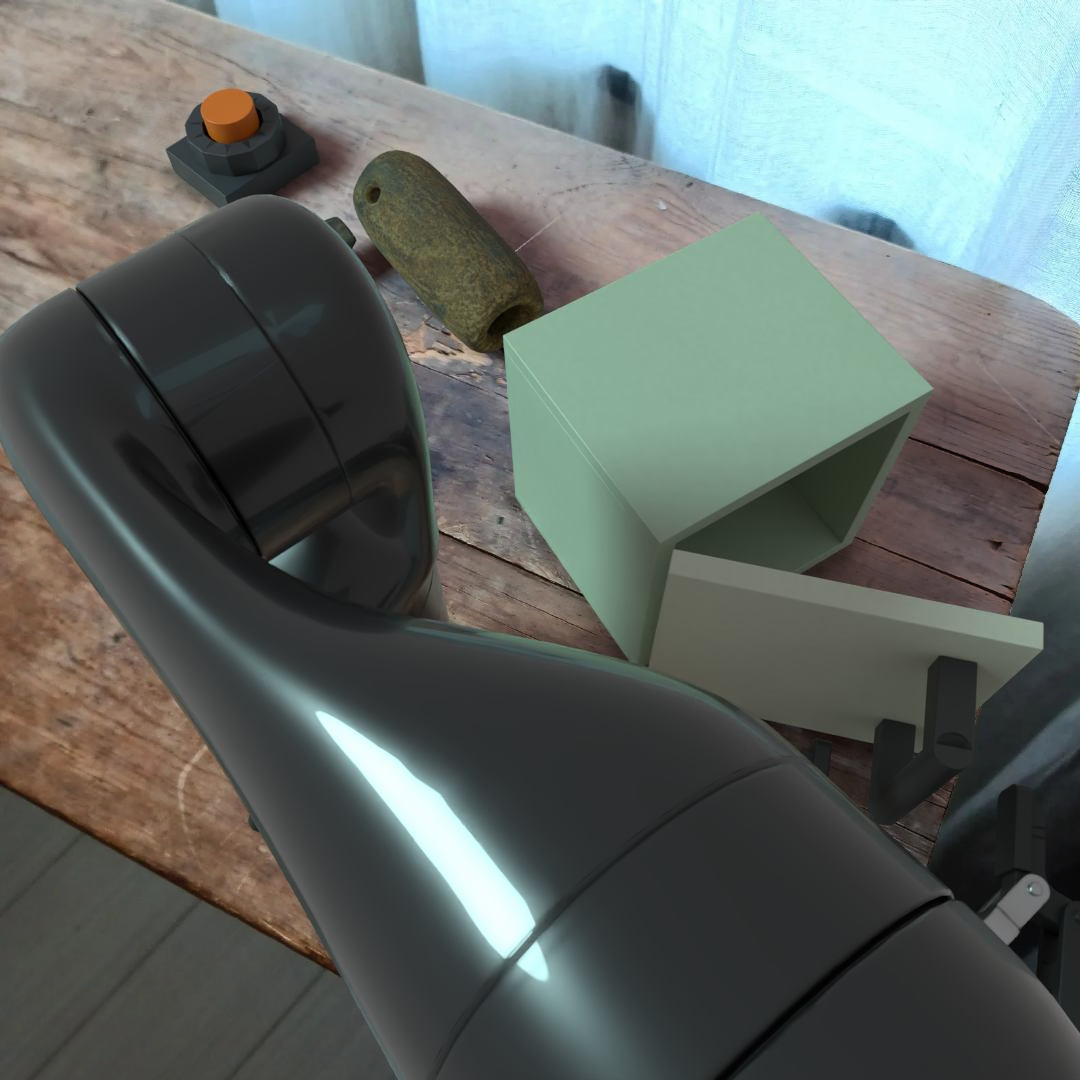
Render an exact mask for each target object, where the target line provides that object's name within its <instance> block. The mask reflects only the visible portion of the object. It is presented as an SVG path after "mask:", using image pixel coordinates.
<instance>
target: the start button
mask: <svg viewBox="0 0 1080 1080" xmlns="http://www.w3.org/2000/svg"><path fill="white" fill-rule="evenodd" d="M245 91H246V90H243V89H239V88H223V89H219V90H216V91H214V92H212V93H210V94H209V95H208V96H207V97H205V98H204V100H203V101H202V102H203V103H202V102H201V103H202V105H201V114H202V117H203V120H204V122H205V125H206V128H207V130H208V133H209V135H210V137H211V138H212V139H213V140H215V141H216V142H219V143H225V144H231V143H236V142H241V141H245V140H247V139H248V138H250V137H251V136H253V135H254V134H256V132H257V131H258V129H259V124H260V123H259V118H258V115H257V112H256V109H255V106H254V102H253V99H252V98H251V96H250V95H249V94H248V93H246V92H245Z"/></svg>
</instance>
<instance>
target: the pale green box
mask: <svg viewBox="0 0 1080 1080" xmlns="http://www.w3.org/2000/svg"><path fill="white" fill-rule="evenodd" d="M503 342H504V347H503V354H504V364H505V366H504V367H505V377H506V390H507V391H506V392H507V404H508V405H507V406H508V418H509V428H510V431H509V432H510V440H511V441H510V443H511V444H510V445H511V456H512V469H513V481H514V484H513V485H514V495H515V498H516V500H517V502H518V503H519V505H520V506H521V508H522V509H523V510H524V512H525V513H526V514H527V516H528V518H529V519H530V520H531V522H532V523H533V524H534V526H535V527H536V529H537V531H538V532H539V533H540V535H541V536H542V538H543V539H544V540H545V542H546V543H547V546H549V548H550V549H551V550H552V552H553V553H554V555H555V557H556V558H557V559H558V561H559V562H560V563H561V565H562V567H563V568H564V569H565V571H566V572H567V574H568V575H569V576H570V578H571V579H572V581H573V582H574V583H575V585H576V586H577V588H578V590H579V591H580V592H581V594H582V595H583V597H584V598H585V600H586V601H587V603H588V604H589V605H590V607H591V608H592V610H593V611H594V613H595V614H596V616H597V617H598V618H599V620H600V621H601V623H602V624H603V625H604V627H605V629H606V630H607V632H608V633H609V634H610V636H611V637H612V638H613V640H614V642H615V643H616V645H618V647H619V649H620V650H621V651H622V653H623V654H624V656H625V657H626V659H627V661H629V662H632V663H636V664H639V665H642V666H648V665H649V661H650V656H651V652H652V647H653V642H654V637H655V633H656V628H657V623H658V618H659V614H660V609H661V604H662V599H663V594H664V590H665V585H666V580H667V575H668V571H669V566H670V561H671V556H672V552H673V550H674V549H676V550H681V551H686V552H691V553H696V554H701V555H706V556H711V557H716V558H721V559H726V560H731V561H736V562H741V563H746V564H751V565H756V566H761V567H766V568H771V569H776V570H781V571H786V572H791V573H796V574H801V575H802V573H805V572H806V571H807V570H809V569H811V568H812V567H814V566H816V565H817V564H819V563H821V562H823V561H824V560H826V559H828V558H830V557H831V556H833V555H835V554H836V553H838V552H839V551H841V550H843V549H844V548H846V547H848V546H849V545H851V544H852V543H853V541H854V539H855V537H856V535H857V534H858V532H859V530H860V528H861V526H862V524H863V522H864V520H865V519H866V517H867V515H868V513H869V511H870V509H871V507H872V506H873V504H874V502H875V500H876V498H877V497H878V495H879V492H880V491H881V489H882V487H883V486H884V483H885V482H886V480H887V478H888V475H889V474H890V472H891V470H892V469H893V466H894V465H895V463H896V461H897V460H898V457H899V456H900V453H901V452H902V450H903V448H904V446H905V444H906V442H907V441H908V439H909V437H910V435H911V433H912V431H913V429H914V428H915V426H916V424H917V422H918V420H919V418H920V416H921V415H922V413H923V410H924V409H925V406H926V405H927V403H928V401H929V400H930V397H931V396H932V395H933V392H934V390H935V388H934V387H933V386H932V385H931V383H929V381H928V380H927V379H925V377H924V376H922V374H921V373H919V371H917V369H916V368H915V366H913V365H912V364H911V363H910V362H909V361H908V360H907V359H906V358H905V357H904V356H903V355H902V353H900V352H899V351H898V350H897V349H896V348H895V347H894V346H893V345H892V344H891V343H890V342H889V341H888V340H887V338H885V337H884V336H883V335H882V333H880V332H879V330H877V329H876V327H875V326H874V325H872V323H870V322H869V321H868V320H867V318H866V317H865V316H864V315H863V314H862V313H861V312H860V311H859V310H858V309H857V308H856V307H855V306H854V305H853V304H852V303H851V302H850V301H849V300H848V299H847V298H846V297H845V296H844V295H843V294H842V293H841V292H840V291H839V290H838V288H836V286H834V285H833V284H832V283H831V281H829V279H827V277H825V275H824V274H823V273H822V272H820V270H819V269H818V268H817V267H816V266H815V265H814V264H813V263H812V262H811V261H810V260H809V259H808V258H807V257H806V256H805V255H804V254H803V253H802V252H801V251H800V250H799V249H798V248H797V247H796V246H795V245H794V244H793V243H792V242H791V241H790V240H789V239H788V238H787V237H786V235H784V234H783V233H782V232H781V230H780V229H778V228H777V226H776V225H775V224H773V222H772V221H771V220H769V218H768V217H767V216H766V215H764V213H763V212H762V211H761V210H759V211H756V212H755V213H753V214H751V215H748V216H746V217H744V218H742V219H740V220H738V221H735V222H733V223H732V224H730V225H728V226H726V227H724V228H721V229H719V230H718V231H715V232H714V233H712V234H709V235H707V236H705V237H703V238H700V239H699V240H697V241H694V242H692V243H690V244H688V245H687V246H684V247H682V248H681V249H679V250H676V251H674V252H672V253H670V254H668V255H666V256H664V257H662V258H660V259H657V260H656V261H653V262H652V263H650V264H647V265H645V266H643V267H641V268H639V269H637V270H635V271H633V272H631V273H629V274H627V275H624V276H623V277H621V278H619V279H616V280H615V281H612V282H610V283H608V284H606V285H604V286H602V287H600V288H598V289H596V290H593V291H592V292H590V293H587V294H585V295H583V296H581V297H579V298H577V299H575V300H574V301H571V302H569V303H567V304H565V305H563V306H561V307H558V308H556V309H554V310H553V311H551V312H549V313H546V314H544V315H542V316H541V317H540V318H538V319H536V320H534V321H532V322H530V323H528V324H526V325H524V326H522V327H519V328H517V329H515V330H513V331H511V332H509V333H507V334H505V335H503Z"/></svg>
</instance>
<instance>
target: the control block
mask: <svg viewBox="0 0 1080 1080" xmlns="http://www.w3.org/2000/svg"><path fill="white" fill-rule="evenodd" d="M244 91H245V92H246V93H248V94H249V95H250V96H251V98H252V99H253V102H254V106H255V109H256V112H257V115H258V118H259V123H260V124H259V129H258V131H257V132H256V134H254V135H253V136H251V137H250V138H248V139H247V140H245V141H241V142H236V143H231V144H225V143H219V142H216V141H215V140H213V139H212V138H211V137H210V135H209V133H208V130H207V128H206V125H205V122H204V120H203V117H202V114H201V105H202V103H203V101H202V102H200V103H199V104H196V106H195V107H194V108H193V109H192V111H191V112H190V114H189V115H188V117H187V119H186V121H185V123H184V129H185V136H184V137H182V138H181V139H179V140H177V141H176V142H174V143H172V144H170V146H168V147H166V148H165V153H166V155H167V157H168V160H169V162H170V164H171V167H172V169H173V171H174V174H175V175H176V176H178V177H180V179H182V180H183V181H185V182H186V183H187V184H188V185H189V186H191V187H192V188H193V189H194V190H195V191H197V192H198V193H199V194H201V195H202V196H203V197H204V198H206V199H207V200H208V201H209V202H210V203H212V204H213V205H214V206H216V208H217V209H219V208H221V207H223V206H225V205H227V204H229V203H231V202H233V201H236V200H238V199H241V198H244V197H247V196H251V195H260V194H270V195H274V194H275V193H277V192H278V191H280V190H281V189H282V188H284V187H285V186H287V185H289V184H290V183H291V182H293V181H294V180H296V179H298V178H299V177H300V176H302V175H303V174H305V173H306V172H307V171H310V170H311V169H312V168H313V167H315V166H316V165H317V164H319V163H320V162H321V160H320V155H319V152H318V148H317V144H316V140H315V138H314V137H313V136H312V135H311V134H310V133H308V132H307V131H305V130H304V129H302V128H301V127H300V126H298V125H297V124H296V123H294V122H293V121H291V120H290V119H288V118H287V117H286V116H285V115H283V114H282V113H280V112H279V108H278V106H277V104H276V103H275V102H273V101H271V99H269V98H267V97H266V96H265V95H263V94H262V93H259V92H252V91H246V90H244Z"/></svg>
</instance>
